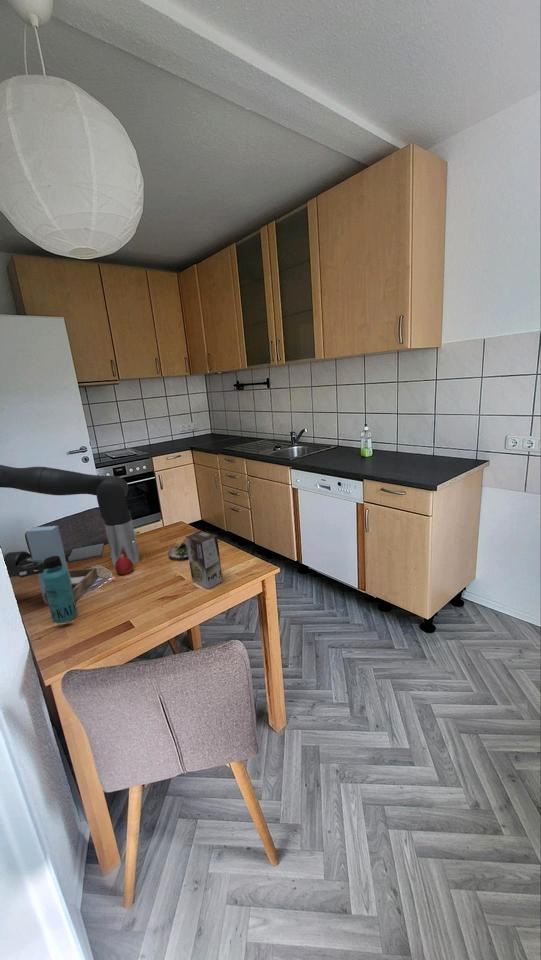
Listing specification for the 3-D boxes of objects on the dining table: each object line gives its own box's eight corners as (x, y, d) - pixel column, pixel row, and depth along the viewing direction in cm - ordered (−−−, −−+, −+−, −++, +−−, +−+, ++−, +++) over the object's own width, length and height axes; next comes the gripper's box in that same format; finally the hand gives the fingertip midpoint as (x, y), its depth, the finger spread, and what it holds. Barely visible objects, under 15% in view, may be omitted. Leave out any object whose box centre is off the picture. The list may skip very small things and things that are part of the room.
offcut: (66, 584, 128) (65, 578, 127) (85, 581, 129) (84, 576, 128) (61, 592, 123) (60, 586, 123) (81, 589, 124) (80, 583, 124)
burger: (184, 564, 139) (181, 545, 137) (161, 558, 145) (158, 540, 143) (205, 550, 149) (203, 533, 147) (184, 545, 155) (181, 528, 153)
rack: (73, 582, 132) (70, 569, 130) (98, 581, 131) (96, 568, 130) (46, 609, 116) (42, 595, 115) (74, 608, 116) (71, 593, 115)
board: (44, 603, 118) (25, 531, 112) (50, 597, 121) (32, 527, 115) (69, 601, 118) (52, 529, 111) (74, 596, 120) (57, 525, 114)
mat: (104, 544, 162) (103, 543, 162) (101, 556, 151) (101, 554, 151) (73, 550, 159) (72, 549, 159) (68, 562, 148) (67, 561, 148)
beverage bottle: (60, 616, 112) (44, 554, 107) (83, 613, 113) (68, 551, 108) (49, 630, 106) (32, 565, 101) (74, 627, 106) (58, 562, 101)
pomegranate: (118, 581, 130) (113, 560, 128) (116, 574, 135) (112, 554, 133) (135, 576, 132) (131, 555, 130) (133, 569, 137) (129, 549, 135)
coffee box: (223, 581, 125) (218, 535, 120) (208, 589, 120) (201, 542, 116) (206, 573, 131) (200, 529, 127) (191, 581, 126) (184, 536, 122)
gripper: (-11, 564, 109) (48, 560, 108) (21, 543, 122) (74, 540, 121) (-4, 587, 111) (54, 584, 110) (27, 564, 124) (79, 561, 123)
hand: (64, 561), depth 116 cm, fingers closed on board, 3 cm apart
